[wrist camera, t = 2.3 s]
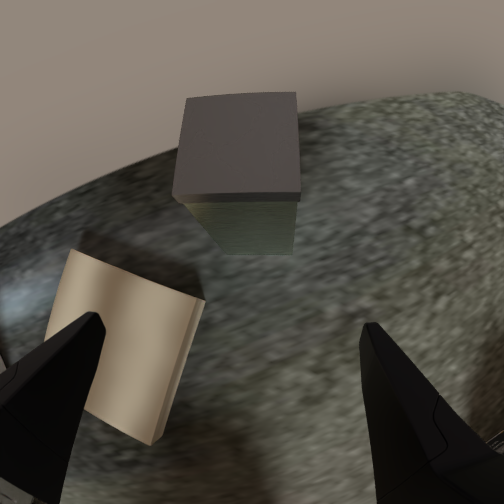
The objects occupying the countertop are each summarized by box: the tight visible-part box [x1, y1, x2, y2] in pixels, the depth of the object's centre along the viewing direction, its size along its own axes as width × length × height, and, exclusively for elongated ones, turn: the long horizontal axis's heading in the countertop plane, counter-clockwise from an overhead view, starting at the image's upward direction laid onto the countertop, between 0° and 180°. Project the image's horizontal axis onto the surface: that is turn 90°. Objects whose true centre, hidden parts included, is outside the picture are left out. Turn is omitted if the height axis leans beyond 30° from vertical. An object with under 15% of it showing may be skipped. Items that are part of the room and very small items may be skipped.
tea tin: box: [172, 92, 301, 255], centre depth 19 cm, size 5×5×12 cm
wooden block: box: [44, 249, 206, 446], centre depth 22 cm, size 12×12×3 cm
